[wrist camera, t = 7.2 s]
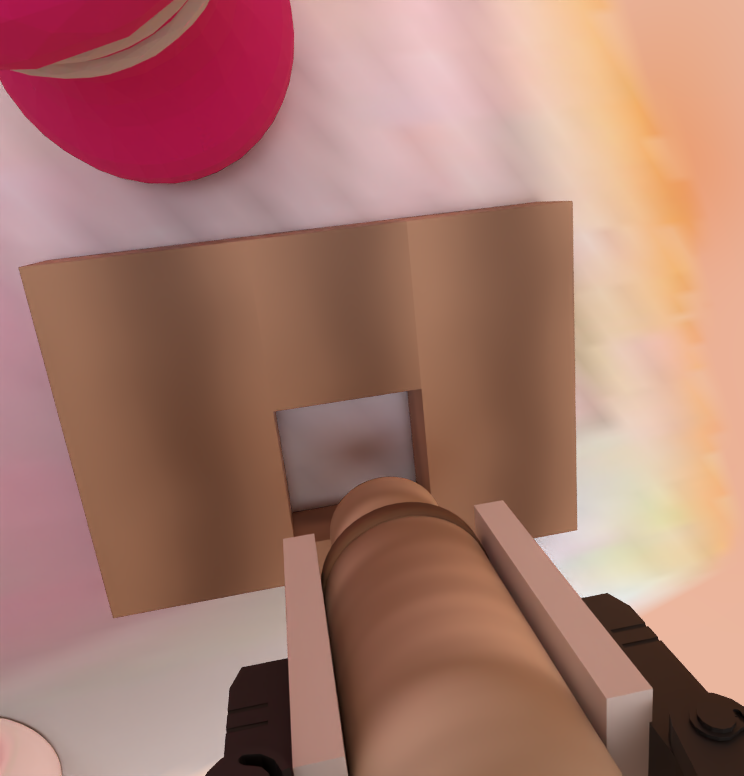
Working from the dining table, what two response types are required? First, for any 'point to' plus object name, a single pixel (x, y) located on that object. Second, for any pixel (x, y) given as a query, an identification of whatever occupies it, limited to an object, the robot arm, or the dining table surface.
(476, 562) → the peg
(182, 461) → the board
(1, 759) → the beer glass
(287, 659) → the robot arm
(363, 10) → the dining table surface
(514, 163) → the dining table surface
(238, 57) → the pepper mill
